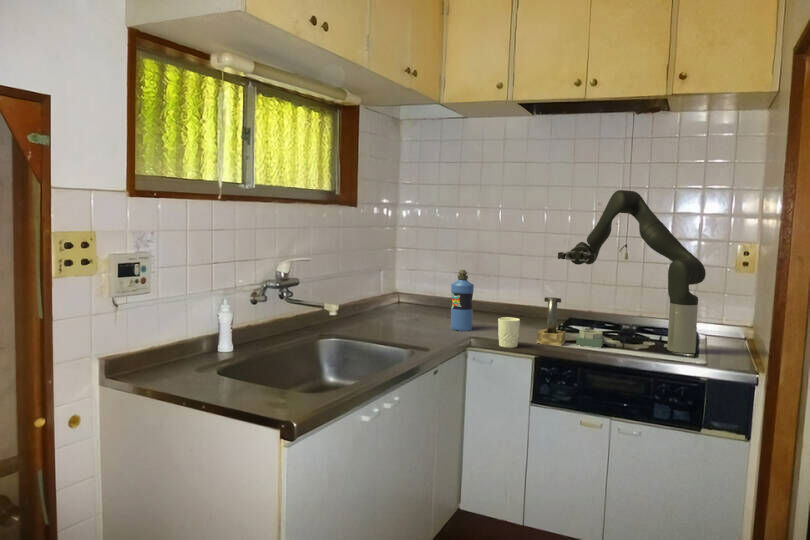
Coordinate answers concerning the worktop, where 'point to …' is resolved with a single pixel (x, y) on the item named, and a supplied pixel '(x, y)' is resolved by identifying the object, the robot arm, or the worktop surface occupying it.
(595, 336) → the chuck block
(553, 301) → the chuck key
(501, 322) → the white cup
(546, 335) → the tan flat block
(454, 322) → the water bottle
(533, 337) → the worktop surface
